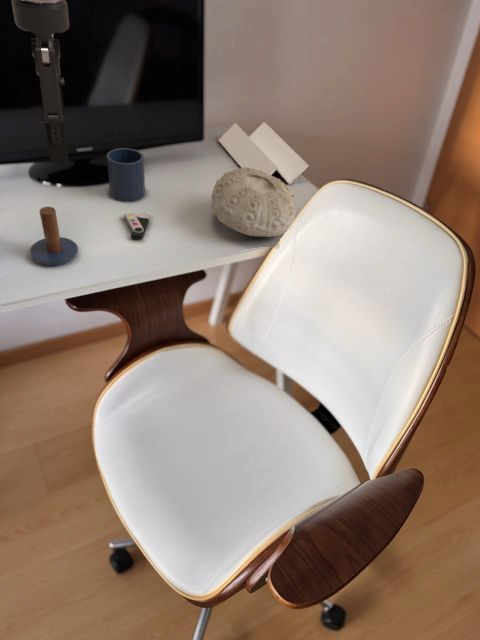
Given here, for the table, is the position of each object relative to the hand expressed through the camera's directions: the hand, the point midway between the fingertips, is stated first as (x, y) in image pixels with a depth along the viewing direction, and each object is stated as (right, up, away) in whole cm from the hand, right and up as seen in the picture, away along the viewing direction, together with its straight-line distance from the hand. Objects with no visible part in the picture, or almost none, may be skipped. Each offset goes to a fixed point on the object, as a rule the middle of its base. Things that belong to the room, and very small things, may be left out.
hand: (58, 142), depth 92 cm
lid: (-4, -17, +8) cm, 19 cm away
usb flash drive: (+9, -11, +18) cm, 22 cm away
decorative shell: (+32, -8, +24) cm, 41 cm away
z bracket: (+36, +13, +47) cm, 60 cm away
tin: (+5, -1, +27) cm, 28 cm away
